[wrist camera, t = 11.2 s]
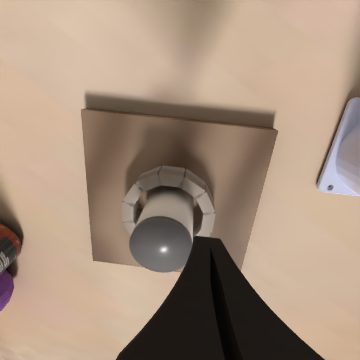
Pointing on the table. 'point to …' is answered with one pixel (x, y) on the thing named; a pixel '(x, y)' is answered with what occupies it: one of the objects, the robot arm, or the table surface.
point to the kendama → (5, 288)
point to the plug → (164, 230)
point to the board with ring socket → (172, 176)
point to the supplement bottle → (8, 247)
